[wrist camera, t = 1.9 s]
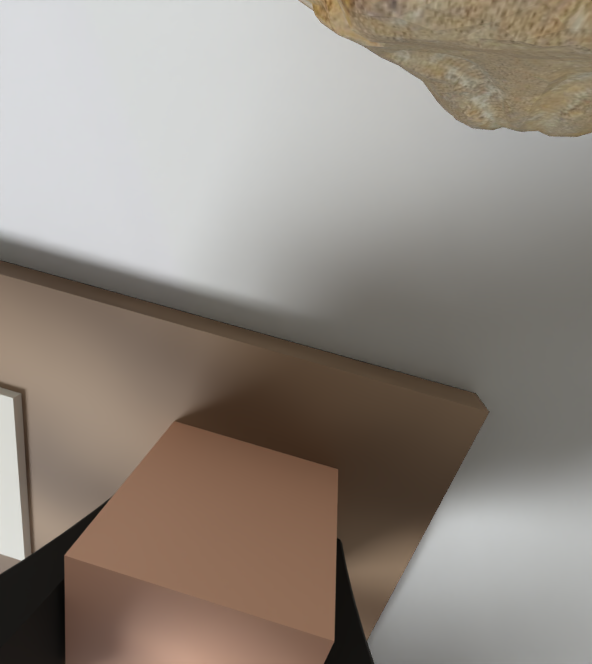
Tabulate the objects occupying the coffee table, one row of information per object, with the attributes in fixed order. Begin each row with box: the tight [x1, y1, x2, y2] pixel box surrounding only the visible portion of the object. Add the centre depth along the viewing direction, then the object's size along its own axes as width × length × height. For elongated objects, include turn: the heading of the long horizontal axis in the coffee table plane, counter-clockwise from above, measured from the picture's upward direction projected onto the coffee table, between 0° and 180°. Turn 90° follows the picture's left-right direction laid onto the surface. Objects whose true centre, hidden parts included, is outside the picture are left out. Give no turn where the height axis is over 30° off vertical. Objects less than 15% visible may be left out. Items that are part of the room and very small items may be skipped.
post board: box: [0, 260, 489, 640], centre depth 11 cm, size 16×24×4 cm, turn 76°
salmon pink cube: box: [64, 421, 338, 664], centre depth 9 cm, size 5×5×4 cm
